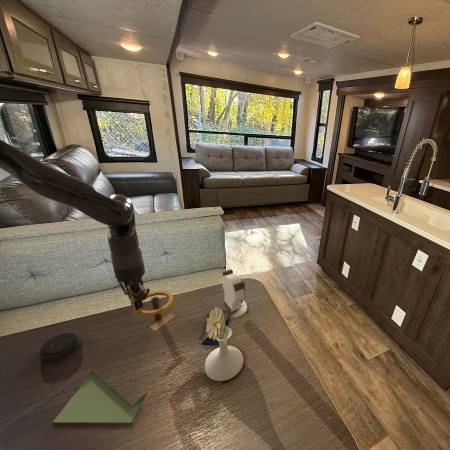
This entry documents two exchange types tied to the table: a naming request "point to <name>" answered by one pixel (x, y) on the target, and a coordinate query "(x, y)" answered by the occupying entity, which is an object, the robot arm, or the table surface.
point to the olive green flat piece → (98, 404)
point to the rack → (159, 315)
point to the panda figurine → (234, 293)
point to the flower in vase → (221, 350)
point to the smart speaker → (59, 347)
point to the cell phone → (211, 341)
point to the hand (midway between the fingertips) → (137, 307)
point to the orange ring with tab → (157, 311)
